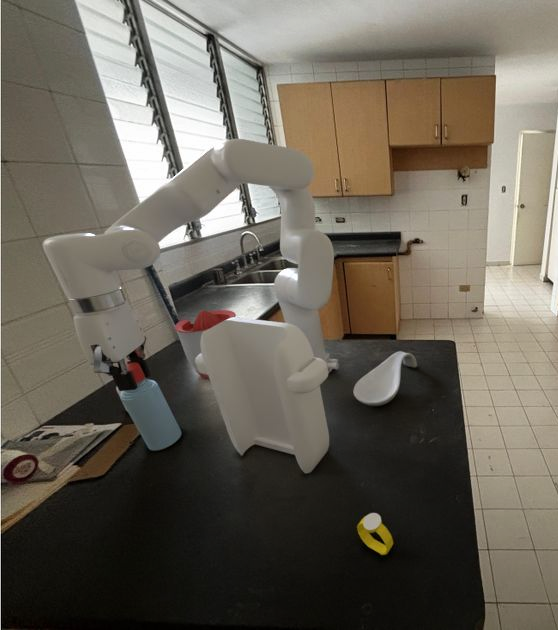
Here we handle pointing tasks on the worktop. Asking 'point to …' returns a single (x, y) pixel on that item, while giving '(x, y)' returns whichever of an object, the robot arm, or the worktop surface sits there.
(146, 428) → the water bottle
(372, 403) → the spoon rest
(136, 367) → the cap
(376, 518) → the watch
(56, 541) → the worktop surface
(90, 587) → the worktop surface
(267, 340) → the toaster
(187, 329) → the citrus juicer
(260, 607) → the worktop surface
